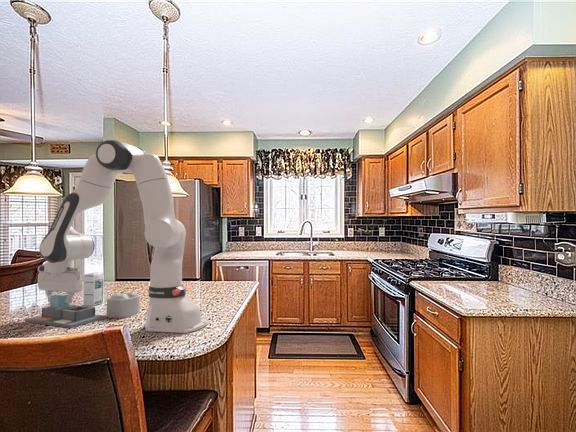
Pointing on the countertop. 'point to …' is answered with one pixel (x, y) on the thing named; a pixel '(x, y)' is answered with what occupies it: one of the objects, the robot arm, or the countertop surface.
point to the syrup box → (93, 289)
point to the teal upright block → (58, 301)
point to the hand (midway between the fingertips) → (59, 302)
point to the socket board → (66, 316)
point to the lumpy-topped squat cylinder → (123, 305)
